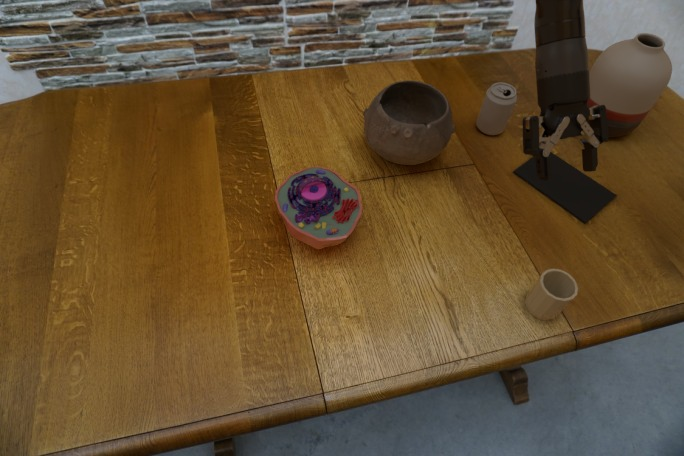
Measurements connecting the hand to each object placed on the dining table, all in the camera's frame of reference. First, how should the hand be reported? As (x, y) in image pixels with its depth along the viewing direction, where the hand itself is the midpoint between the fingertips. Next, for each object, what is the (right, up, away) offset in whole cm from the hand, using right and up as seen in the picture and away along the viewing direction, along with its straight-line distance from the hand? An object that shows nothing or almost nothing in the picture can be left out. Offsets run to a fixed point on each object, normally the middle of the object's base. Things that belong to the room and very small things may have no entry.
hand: (567, 175), depth 75 cm
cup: (+2, -24, +14) cm, 28 cm away
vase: (+33, +20, +49) cm, 62 cm away
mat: (+16, +2, +34) cm, 37 cm away
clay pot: (-22, +11, +39) cm, 46 cm away
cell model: (-42, -8, +24) cm, 49 cm away
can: (+2, +18, +46) cm, 49 cm away
